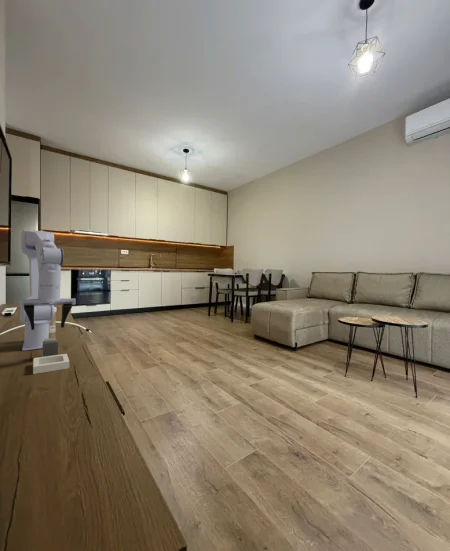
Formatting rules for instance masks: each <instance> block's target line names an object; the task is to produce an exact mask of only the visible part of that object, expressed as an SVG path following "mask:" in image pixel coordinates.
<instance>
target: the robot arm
mask: <svg viewBox="0 0 450 551" xmlns="http://www.w3.org/2000/svg"><path fill="white" fill-rule="evenodd" d="M20 249H21V253H22V254H24V255H26V256H27V259H28V267H29V268H28V272H29V274H28V275H29V276H28V277H29V297H27V298H25V299H19V304H18V306H19V307H20V308H19V320H20V322H21V323H22V324H24V339H23V340H24V342H23V343H22V349H21V350H22V351H30V350H31V351H32V350H37V349H38V350H39V349H42V347H43V341H44V339H49V323H50V321H52V320H53V319H54V315H55V309H54V307H55V306H61V320H60V327H61V329H63V328H65V323H66V321H67V318H68V315H69V313H70V312H71V310H72V308H73V306H76V302H77V301H76V300H77V299H76V298H75V297H74V298H61V279H62V278H61V275H62V274H61V272H62V267H63V264H64V262H65V254H64V252H65V251H64V249H63V248H61V247H59V248H58V247H57V245H56V244H55V234H54V233H53V232H52V231H43V230H32V229H26V228H23V229H22V230H21V233H20Z"/></svg>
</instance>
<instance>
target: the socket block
mask: <svg viewBox="0 0 450 551" xmlns="http://www.w3.org/2000/svg"><path fill="white" fill-rule="evenodd" d="M32 364H33V365H32V374H33V375H36V374H37V375H38V374H42V373H48V372H55V371H61V370H67V369H70V359H69V356H68V353H62V354H61V353H60V354H58V355H53V356H46V357H42V356H41V357H34V358H33V363H32Z"/></svg>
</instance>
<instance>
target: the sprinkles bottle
mask: <svg viewBox="0 0 450 551" xmlns="http://www.w3.org/2000/svg"><path fill="white" fill-rule="evenodd" d="M54 309H55V315H54V319H53V320H52V321H50V323H49V338H56V331H57V329H56V328H57V326H56V325H57V320H56V319H57V310H58V309H57V307H56V306H54Z"/></svg>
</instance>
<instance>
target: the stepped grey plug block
mask: <svg viewBox="0 0 450 551" xmlns="http://www.w3.org/2000/svg"><path fill="white" fill-rule="evenodd" d="M41 349H42V350H41V351H42V353H41V354H42V355H41V357H46V356H53V355H59V354H58V353H59V352H58V350H59V342H58V339H57V338H56V337H55V338H49V339H44V341H43V347H42V348H41Z"/></svg>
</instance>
